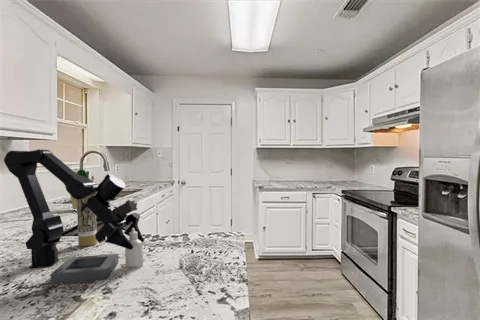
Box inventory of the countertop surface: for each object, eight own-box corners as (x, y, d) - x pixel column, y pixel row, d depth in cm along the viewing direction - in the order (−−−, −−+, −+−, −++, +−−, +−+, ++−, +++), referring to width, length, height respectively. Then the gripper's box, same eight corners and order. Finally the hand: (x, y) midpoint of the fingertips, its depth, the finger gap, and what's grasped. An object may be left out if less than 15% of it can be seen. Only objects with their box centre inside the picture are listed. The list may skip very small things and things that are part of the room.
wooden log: (89, 247, 119) (87, 183, 119) (74, 246, 120) (72, 184, 120) (100, 242, 126) (98, 182, 126) (86, 242, 127) (84, 182, 127)
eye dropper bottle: (130, 270, 92) (129, 230, 92) (124, 265, 97) (123, 227, 97) (144, 266, 95) (143, 228, 95) (138, 262, 99) (137, 225, 99)
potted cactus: (64, 212, 210) (63, 169, 210) (81, 208, 225) (79, 168, 225) (83, 212, 207) (82, 168, 207) (99, 208, 222) (97, 168, 222)
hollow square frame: (51, 285, 83) (50, 274, 83) (70, 266, 97) (70, 257, 97) (107, 279, 85) (107, 268, 85) (118, 262, 99) (118, 253, 99)
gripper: (103, 196, 87) (141, 234, 86) (134, 189, 106) (165, 220, 104) (79, 223, 88) (115, 261, 87) (113, 212, 107) (144, 243, 105)
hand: (137, 245), depth 96 cm, fingers open, 7 cm apart
